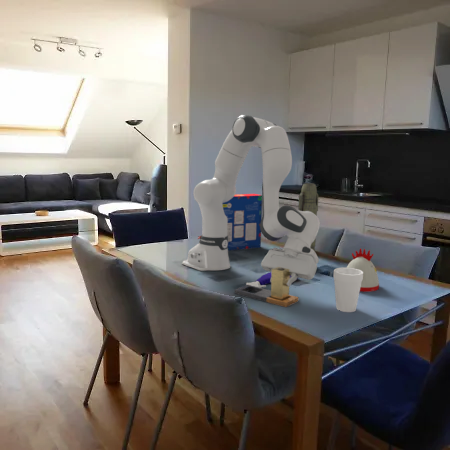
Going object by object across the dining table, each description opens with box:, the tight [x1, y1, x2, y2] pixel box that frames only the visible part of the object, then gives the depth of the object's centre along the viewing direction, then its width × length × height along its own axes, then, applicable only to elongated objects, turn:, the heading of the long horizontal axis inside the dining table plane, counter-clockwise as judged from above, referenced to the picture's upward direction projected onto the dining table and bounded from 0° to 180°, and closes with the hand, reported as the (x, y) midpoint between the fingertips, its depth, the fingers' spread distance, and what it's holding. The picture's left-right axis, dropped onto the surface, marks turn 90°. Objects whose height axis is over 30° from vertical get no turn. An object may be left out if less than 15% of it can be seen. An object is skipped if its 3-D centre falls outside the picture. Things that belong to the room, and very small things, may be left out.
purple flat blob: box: [245, 271, 299, 288], centre depth 184 cm, size 3×11×24 cm
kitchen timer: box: [345, 248, 380, 293], centre depth 180 cm, size 14×14×15 cm
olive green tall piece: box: [297, 182, 319, 252], centre depth 237 cm, size 9×12×35 cm
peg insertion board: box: [234, 284, 299, 308], centre depth 165 cm, size 22×8×2 cm, turn 51°
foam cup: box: [333, 267, 363, 313], centre depth 154 cm, size 10×9×13 cm
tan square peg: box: [270, 267, 290, 301], centre depth 161 cm, size 4×4×11 cm
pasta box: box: [222, 193, 263, 252], centre depth 242 cm, size 28×8×28 cm, turn 117°
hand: (279, 283), depth 160 cm, fingers closed on tan square peg, 4 cm apart
